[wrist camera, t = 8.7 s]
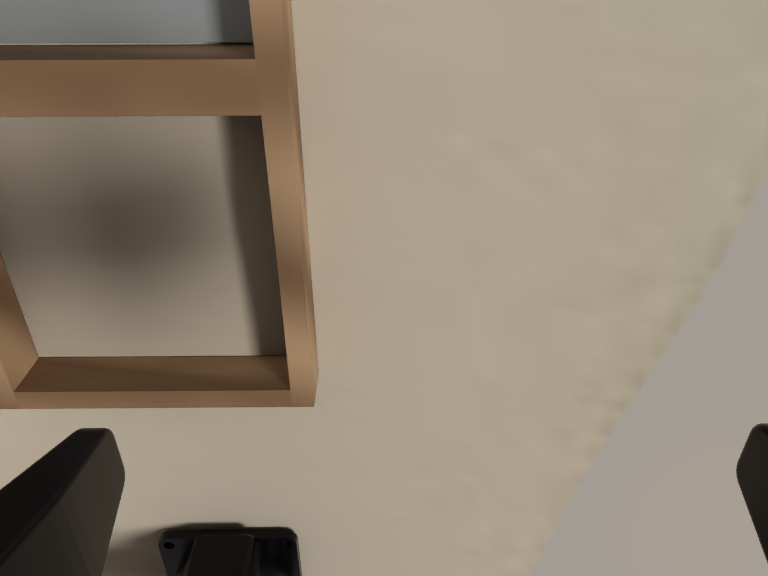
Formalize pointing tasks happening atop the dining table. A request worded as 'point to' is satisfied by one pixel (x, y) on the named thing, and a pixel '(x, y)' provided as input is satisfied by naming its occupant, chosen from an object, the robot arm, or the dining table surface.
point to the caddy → (165, 98)
